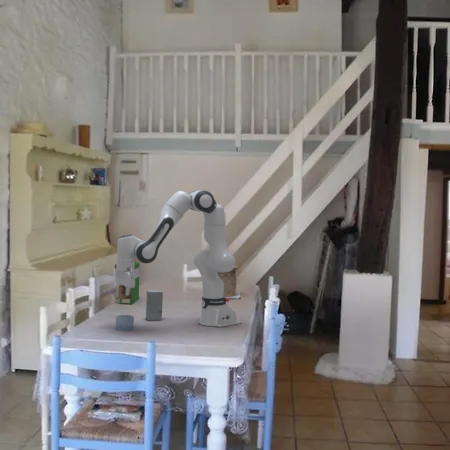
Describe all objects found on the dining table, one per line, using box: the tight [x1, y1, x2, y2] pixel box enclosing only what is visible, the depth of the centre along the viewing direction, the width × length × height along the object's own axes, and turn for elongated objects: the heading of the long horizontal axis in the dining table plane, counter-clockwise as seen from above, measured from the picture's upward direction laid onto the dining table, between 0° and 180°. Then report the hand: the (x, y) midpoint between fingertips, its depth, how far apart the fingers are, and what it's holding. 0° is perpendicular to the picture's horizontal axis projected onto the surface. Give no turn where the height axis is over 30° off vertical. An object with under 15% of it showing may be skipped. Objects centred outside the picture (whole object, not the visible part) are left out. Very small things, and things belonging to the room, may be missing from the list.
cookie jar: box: [217, 265, 241, 300], centre depth 371 cm, size 25×25×32 cm
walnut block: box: [117, 285, 131, 300], centre depth 274 cm, size 5×5×6 cm
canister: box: [114, 314, 135, 332], centre depth 274 cm, size 9×9×6 cm
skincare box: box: [145, 289, 164, 322], centre depth 296 cm, size 8×7×16 cm
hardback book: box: [119, 262, 140, 305], centre depth 343 cm, size 18×7×24 cm, turn 174°
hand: (124, 294), depth 274 cm, fingers closed on walnut block, 5 cm apart
